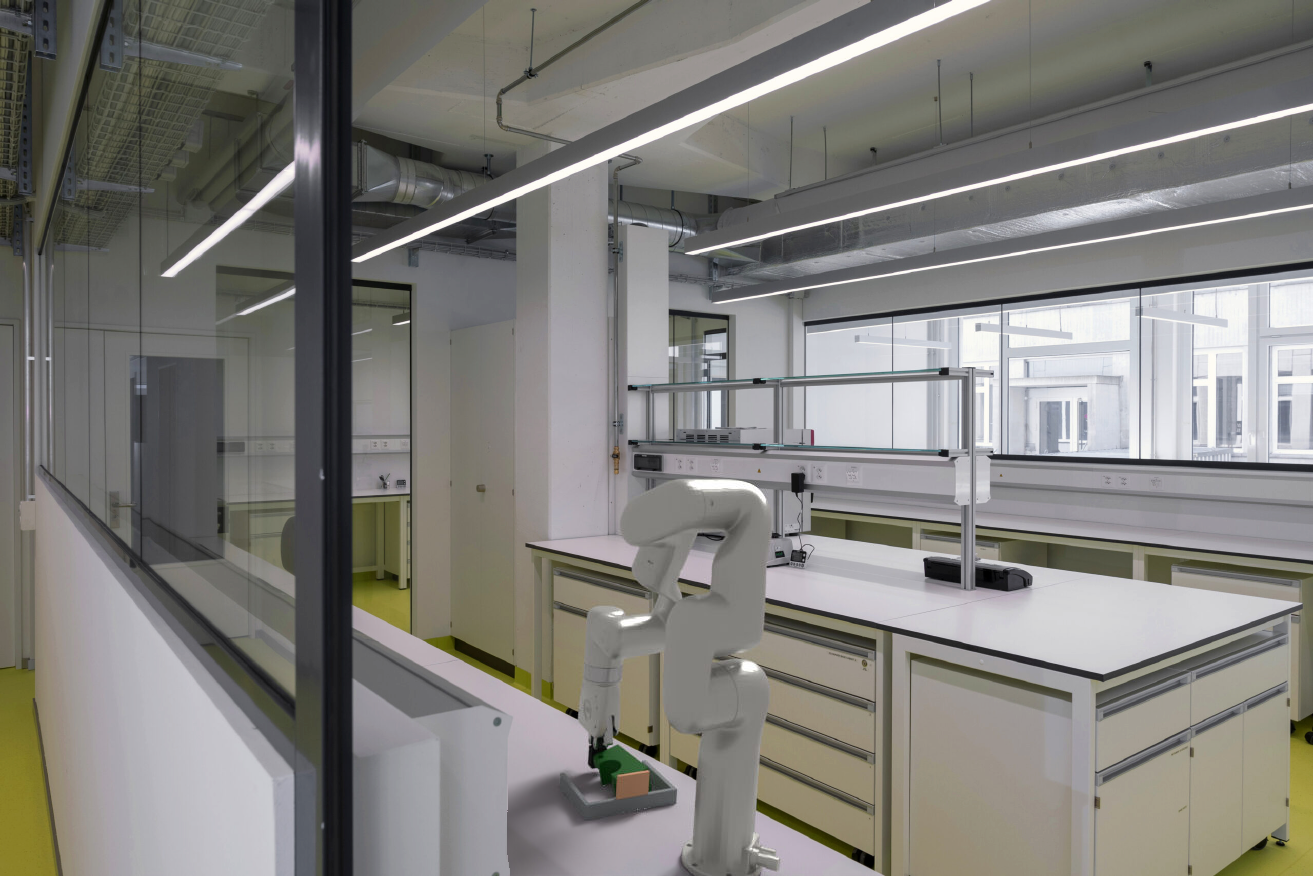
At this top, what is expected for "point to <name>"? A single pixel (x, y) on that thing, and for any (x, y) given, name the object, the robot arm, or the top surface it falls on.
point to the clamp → (617, 765)
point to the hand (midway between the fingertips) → (596, 766)
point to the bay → (624, 794)
